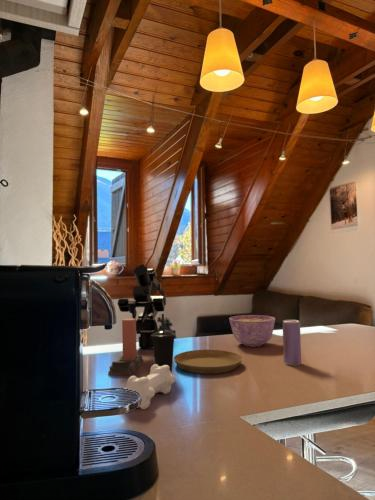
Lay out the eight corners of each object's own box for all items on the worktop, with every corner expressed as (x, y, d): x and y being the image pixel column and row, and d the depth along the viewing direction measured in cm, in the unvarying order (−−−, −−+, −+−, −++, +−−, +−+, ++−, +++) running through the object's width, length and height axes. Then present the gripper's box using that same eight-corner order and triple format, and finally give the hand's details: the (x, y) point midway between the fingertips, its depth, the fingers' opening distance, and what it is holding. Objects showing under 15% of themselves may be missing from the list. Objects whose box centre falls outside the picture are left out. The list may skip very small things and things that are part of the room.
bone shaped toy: (151, 391, 108) (148, 363, 109) (178, 391, 105) (175, 362, 105) (122, 410, 95) (119, 377, 95) (151, 411, 91) (148, 377, 92)
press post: (125, 359, 138) (124, 318, 138) (138, 359, 137) (137, 318, 138) (121, 363, 133) (120, 320, 133) (134, 363, 132) (133, 320, 133)
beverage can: (297, 366, 127) (296, 322, 128) (281, 364, 131) (279, 321, 131) (303, 362, 132) (302, 320, 133) (287, 360, 136) (286, 319, 136)
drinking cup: (169, 381, 115) (167, 316, 116) (147, 378, 118) (146, 315, 119) (180, 374, 122) (178, 312, 123) (159, 372, 125) (158, 312, 126)
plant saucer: (247, 359, 139) (247, 350, 140) (235, 379, 117) (235, 368, 117) (186, 356, 147) (185, 347, 147) (163, 374, 124) (163, 363, 124)
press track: (122, 361, 139) (122, 351, 140) (143, 362, 139) (143, 351, 139) (108, 374, 124) (108, 362, 124) (131, 374, 123) (131, 362, 123)
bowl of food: (225, 348, 157) (224, 321, 157) (234, 339, 176) (233, 314, 176) (274, 351, 151) (273, 322, 151) (278, 340, 170) (277, 315, 170)
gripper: (118, 279, 155) (110, 309, 144) (162, 278, 153) (157, 308, 141) (124, 296, 163) (116, 326, 151) (166, 296, 160) (162, 326, 149)
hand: (137, 321), depth 148 cm, fingers open, 3 cm apart
